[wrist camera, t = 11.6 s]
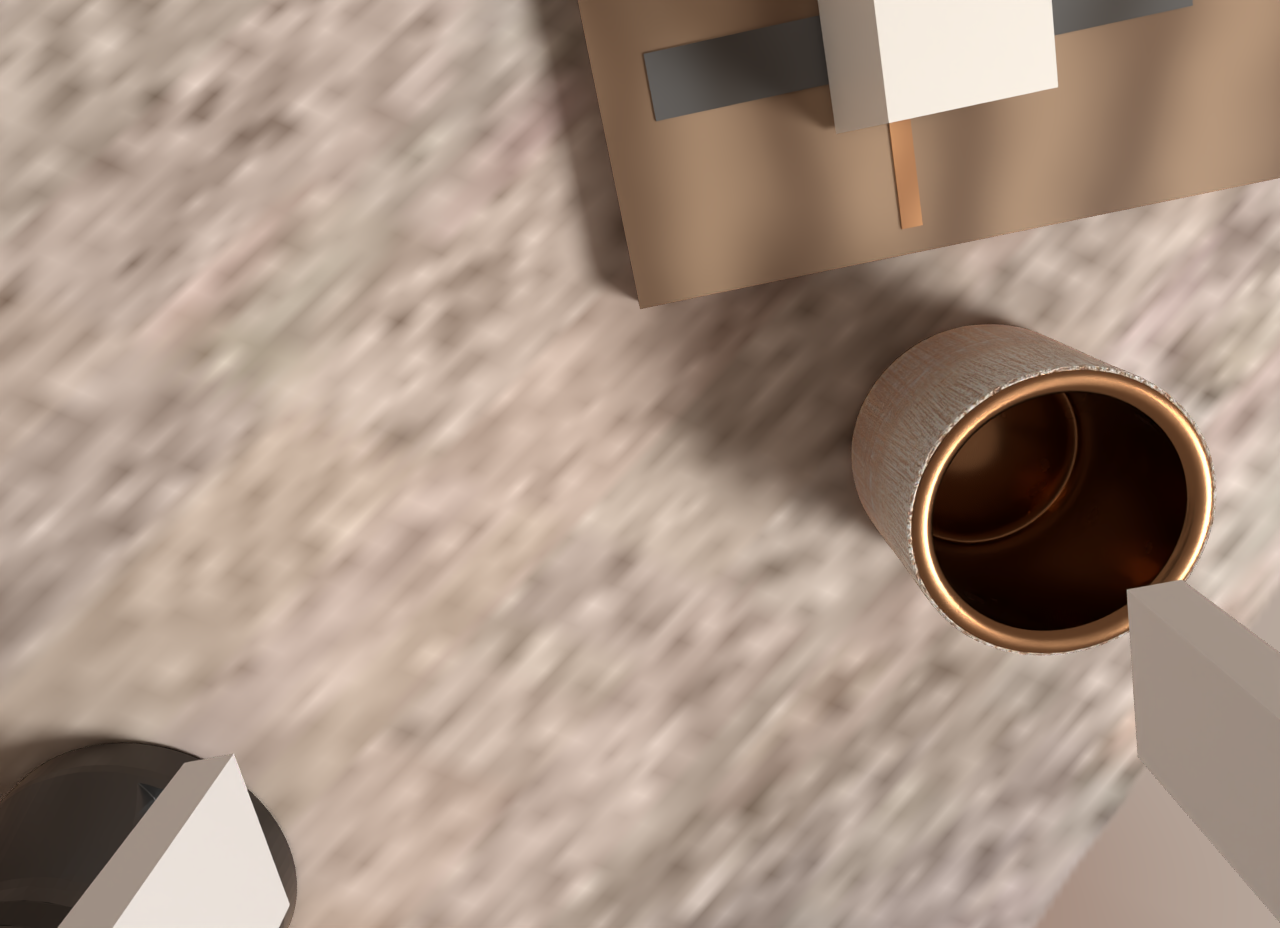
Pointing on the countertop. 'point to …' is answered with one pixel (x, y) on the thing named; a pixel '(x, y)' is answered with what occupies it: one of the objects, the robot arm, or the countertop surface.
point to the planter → (1031, 485)
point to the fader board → (909, 135)
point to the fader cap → (932, 55)
